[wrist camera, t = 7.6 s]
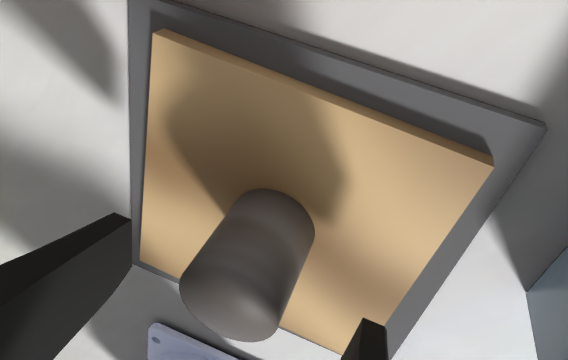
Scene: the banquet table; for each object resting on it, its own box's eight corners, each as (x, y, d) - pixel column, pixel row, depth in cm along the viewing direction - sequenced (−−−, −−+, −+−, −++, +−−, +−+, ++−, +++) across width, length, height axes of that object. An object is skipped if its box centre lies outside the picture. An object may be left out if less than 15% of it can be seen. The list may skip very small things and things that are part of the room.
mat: (383, 364, 18) (381, 373, 18) (137, 257, 20) (132, 263, 19) (545, 122, 11) (547, 129, 10) (136, -12, 12) (128, -10, 12)
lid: (360, 350, 17) (338, 456, 14) (147, 251, 18) (80, 327, 15) (492, 156, 11) (509, 261, 8) (164, 28, 12) (58, 73, 9)
